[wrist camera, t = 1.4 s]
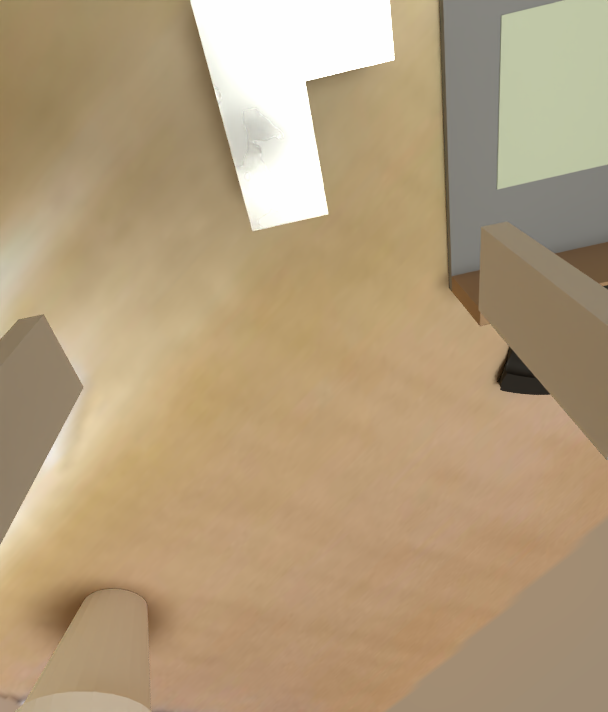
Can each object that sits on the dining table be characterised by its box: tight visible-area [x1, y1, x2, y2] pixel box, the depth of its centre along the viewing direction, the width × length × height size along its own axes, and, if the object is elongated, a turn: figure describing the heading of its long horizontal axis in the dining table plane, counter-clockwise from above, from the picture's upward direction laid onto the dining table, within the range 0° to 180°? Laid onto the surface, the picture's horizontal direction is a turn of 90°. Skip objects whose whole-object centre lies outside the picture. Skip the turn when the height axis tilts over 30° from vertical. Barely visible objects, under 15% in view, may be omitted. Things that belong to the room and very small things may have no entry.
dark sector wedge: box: [497, 347, 550, 395], centre depth 37 cm, size 8×14×2 cm, turn 83°
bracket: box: [190, 0, 394, 231], centre depth 24 cm, size 10×8×6 cm
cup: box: [15, 589, 151, 712], centre depth 46 cm, size 12×12×14 cm
